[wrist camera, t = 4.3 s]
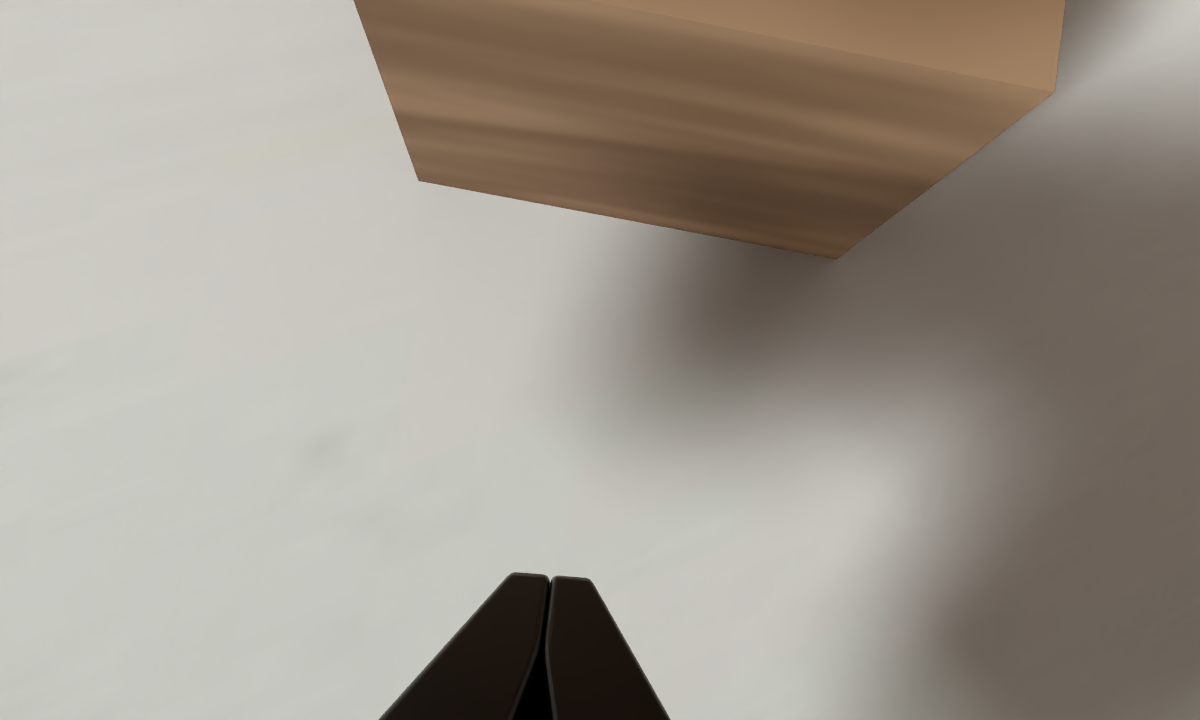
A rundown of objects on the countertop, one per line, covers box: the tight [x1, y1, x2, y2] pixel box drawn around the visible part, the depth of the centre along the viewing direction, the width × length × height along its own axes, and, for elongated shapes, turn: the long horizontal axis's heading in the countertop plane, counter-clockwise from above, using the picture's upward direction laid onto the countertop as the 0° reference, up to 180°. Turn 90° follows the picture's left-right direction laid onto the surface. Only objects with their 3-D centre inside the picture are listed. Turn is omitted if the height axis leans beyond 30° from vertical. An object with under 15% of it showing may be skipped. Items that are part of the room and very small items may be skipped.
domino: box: [354, 0, 1066, 259], centre depth 19 cm, size 2×10×10 cm, turn 80°
